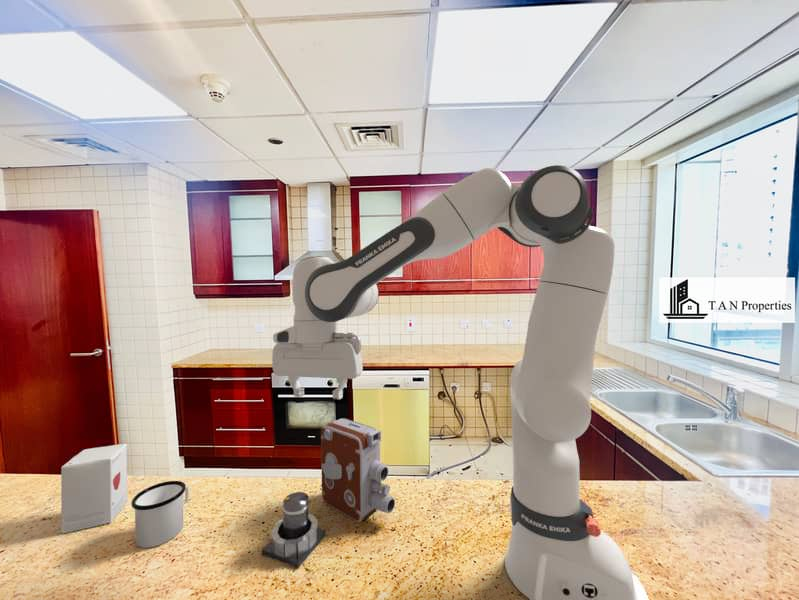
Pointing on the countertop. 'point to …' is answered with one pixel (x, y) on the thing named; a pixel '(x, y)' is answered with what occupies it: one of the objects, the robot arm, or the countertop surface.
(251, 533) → the countertop surface
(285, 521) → the lens
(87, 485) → the supplement box
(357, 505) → the cine camera
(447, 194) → the robot arm
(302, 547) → the mount
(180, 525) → the mug
